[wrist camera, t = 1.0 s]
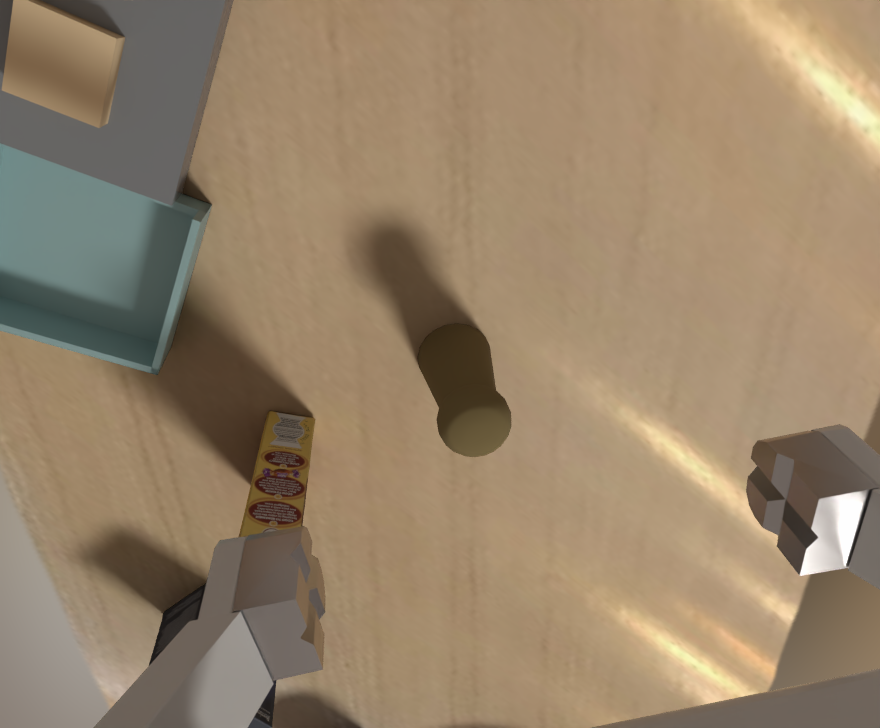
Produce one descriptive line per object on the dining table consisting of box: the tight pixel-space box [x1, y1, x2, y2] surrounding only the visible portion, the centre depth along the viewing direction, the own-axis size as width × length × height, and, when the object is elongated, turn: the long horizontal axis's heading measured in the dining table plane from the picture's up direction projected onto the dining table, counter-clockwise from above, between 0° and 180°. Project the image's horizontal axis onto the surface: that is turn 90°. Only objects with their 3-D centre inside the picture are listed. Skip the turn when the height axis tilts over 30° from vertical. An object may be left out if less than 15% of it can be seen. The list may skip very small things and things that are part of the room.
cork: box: [418, 324, 511, 457], centre depth 48 cm, size 6×6×11 cm
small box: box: [149, 584, 276, 728], centre depth 60 cm, size 11×6×10 cm, turn 37°
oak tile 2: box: [2, 0, 125, 128], centre depth 35 cm, size 5×5×2 cm
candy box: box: [239, 411, 315, 537], centre depth 48 cm, size 9×4×15 cm, turn 166°
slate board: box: [0, 0, 233, 206], centre depth 36 cm, size 18×14×3 cm
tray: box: [0, 143, 212, 375], centre depth 43 cm, size 12×13×4 cm
